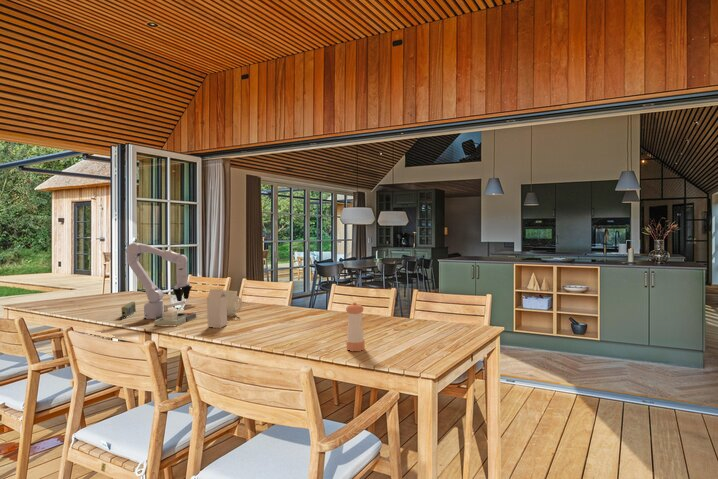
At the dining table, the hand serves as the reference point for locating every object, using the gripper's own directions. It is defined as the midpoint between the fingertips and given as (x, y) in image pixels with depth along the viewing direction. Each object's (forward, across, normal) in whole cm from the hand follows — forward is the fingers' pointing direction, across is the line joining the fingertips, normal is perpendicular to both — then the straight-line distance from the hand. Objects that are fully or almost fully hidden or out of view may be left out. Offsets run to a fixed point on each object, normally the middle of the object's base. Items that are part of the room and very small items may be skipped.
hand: (182, 299), depth 263 cm
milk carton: (+10, -24, -31) cm, 40 cm away
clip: (+7, -1, +4) cm, 8 cm away
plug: (+9, -20, -3) cm, 22 cm away
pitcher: (+10, +4, -26) cm, 28 cm away
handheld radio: (+10, +1, +35) cm, 36 cm away
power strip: (+9, -8, 0) cm, 12 cm away
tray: (+9, -20, -3) cm, 22 cm away
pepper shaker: (+10, -63, -107) cm, 125 cm away
